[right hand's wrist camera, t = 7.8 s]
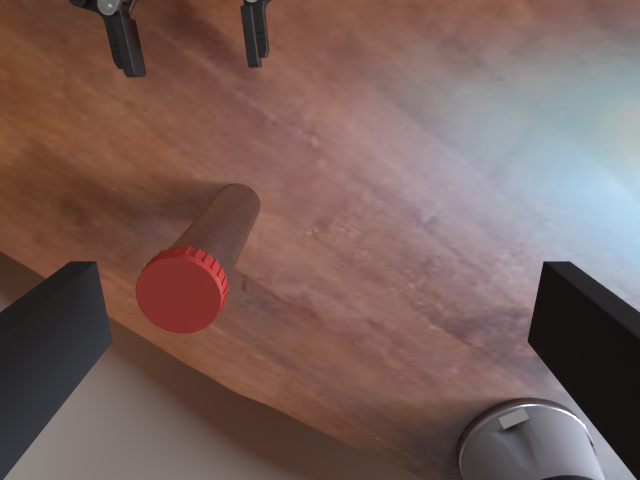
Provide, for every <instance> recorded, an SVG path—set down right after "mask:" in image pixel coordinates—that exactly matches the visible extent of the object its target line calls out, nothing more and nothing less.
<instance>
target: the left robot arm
mask: <svg viewBox="0 0 640 480" xmlns="http://www.w3.org/2000/svg"><path fill="white" fill-rule="evenodd" d="M69 1H70V2H71V3H72V4H73V5H75V6H77V7H81V8H84V9H87V10H91V11H94V12H97V13H98V14H100V15H101V16H102V18H103V19H104V22H105V25H106V30H107V34H108V38H109V43H110V47H111V51H112V56H113V60H114V62H115V64H116V66H117V67H118V69H123V70H124V73H125V75H126V76H127V77H144V76H146V69H145V65H144V60H143V55H142V50H141V45H140V40H139V36H138V31H137V26H136V21H135V20H132V19H130V16H131V14H132V11H133V9H134V7H135V4H136V2H137V0H69ZM243 1H244V6H241V14H242V22H243V30H244V38H245V45H246V53H247V61H248V66H249V67H250V68H256V67H262V61H261V58H267V57H268V53H269V41H268V32H267V23H266V14H265V9H266V6H267V4H268V3H269V2H270V1H271V0H243Z"/></svg>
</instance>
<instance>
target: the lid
mask: <svg viewBox="0 0 640 480" xmlns="http://www.w3.org/2000/svg"><path fill="white" fill-rule="evenodd" d="M141 272H142V273H141V274H140V276H139V278H138V281H137V284H136V298H137V302H138V304H139V307H140V309H141V310H142V312H143V313H144V315H145V316H146V317H147V318H148V319H149V320H150V321H151V322H152V323H154V324H155V325H157V326H158V327H160V328H162V329H165V330H167V331H170V332H175V333H192V332H196V331H199V330H202V329H204V328H205V327H207V326H209V325H210V324H211V323H212V322H213V321H214V320H215V319H216V318H217V316H218V314H219V311H221V310H222V308H223V306H224V303H225V301H226V297H227V295H228V292H227V288H228V286H229V284H227V279H226V278H227V275H225V273H224V271H223V267H221V266H220V265H219V263H218V262H217V259H216V260H215V259H214V258H213V257H211V256H210V254H209V253H208V254H207V253H205V252H203V251H201V249H195V248H191V246H189V247H181V245H180V246H179V247H174V248H172V247H170V248H169V249H167V250H165V251H163V250H162V251H161V252H160V253H159V254H158V255H157V256H154V257H153V258H152V259H151V260H150V261H149V262H148V264H147V266H146V267H145V268H144V269H143V270H142V271H141Z"/></svg>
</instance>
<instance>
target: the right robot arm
mask: <svg viewBox="0 0 640 480" xmlns="http://www.w3.org/2000/svg"><path fill="white" fill-rule="evenodd" d="M527 342H528V343H529V344H530V345H531V347H532V348H533V349H534V350H535V352H536V353H537V354H538V355H539V357H540V358H541V359H542V360H543V362H544V363H545V364H546V366H547V367H548V368H549V369H550V371H551V372H552V373H553V374H554V376H555V377H556V378H557V379H558V381H559V382H560V383H561V384H562V386H563V387H564V388H565V390H566V391H567V392H568V393H569V395H570V396H571V397H572V398H573V400H574V401H575V402H576V403H577V405H578V406H579V407H580V408H581V410H582V411H583V412H584V414H585V415H586V416H587V417H588V419H589V420H590V421H591V422H592V424H593V425H594V426H595V427H596V429H597V430H598V431H599V432H600V434H601V435H602V436H603V437H604V439H605V440H606V441H607V443H608V444H609V445H610V446H611V448H612V449H613V450H614V451H615V453H616V454H617V455H618V456H619V458H620V459H621V460H622V461H623V463H624V464H625V465H626V467H627V468H628V469H629V470H630V472H631V473H632V474H633V475H634V477H635V478H636V479H637V480H640V312H638V311H637V310H636V309H634V308H633V307H632V306H630V305H629V304H627V303H626V302H625V301H623V300H622V299H621V298H619V297H618V296H616V295H615V294H614V293H612V292H611V291H610V290H608V289H607V288H605V287H604V286H603V285H601V284H600V283H599V282H597V281H596V280H594V279H593V278H592V277H590V276H589V275H588V274H586V273H585V272H583V271H582V270H581V269H579V268H578V267H577V266H575V265H574V264H572V263H571V262H543V267H542V272H541V277H540V282H539V287H538V292H537V297H536V302H535V307H534V312H533V317H532V322H531V327H530V332H529V336H528V341H527ZM111 343H112V336H111V332H110V327H109V322H108V317H107V312H106V307H105V302H104V297H103V292H102V287H101V282H100V277H99V272H98V267H97V262H69V263H68V264H66V265H65V266H63V267H62V268H61V269H59V270H58V271H57V272H55V273H54V274H52V275H51V276H50V277H48V278H47V279H46V280H44V281H43V282H41V283H40V284H39V285H37V286H36V287H35V288H33V289H32V290H31V291H29V292H28V293H26V294H25V295H24V296H22V297H21V298H19V299H18V300H17V301H15V302H14V303H13V304H11V305H10V306H8V307H7V308H6V309H4V310H3V311H2V312H0V480H3V479H4V478H5V477H6V475H7V474H8V473H9V472H10V470H11V469H12V468H13V466H14V465H15V464H16V463H17V461H18V460H19V459H20V458H21V456H22V455H23V454H24V453H25V451H26V450H27V449H28V448H29V446H30V445H31V444H32V443H33V441H34V440H35V439H36V437H37V436H38V435H39V434H40V432H41V431H42V430H43V429H44V427H45V426H46V425H47V424H48V422H49V421H50V420H51V419H52V417H53V416H54V415H55V413H56V412H57V411H58V410H59V408H60V407H61V406H62V405H63V403H64V402H65V401H66V400H67V398H68V397H69V396H70V395H71V393H72V392H73V391H74V389H75V388H76V387H77V386H78V384H79V383H80V382H81V381H82V379H83V378H84V377H85V376H86V374H87V373H88V372H89V371H90V369H91V368H92V367H93V366H94V364H95V363H96V362H97V360H98V359H99V358H100V357H101V355H102V354H103V353H104V352H105V350H106V349H107V348H108V347H109V345H110V344H111ZM457 462H458V466H459V469H460V471H461V474H462V477H463V479H464V480H605V478H604V476H603V473H602V470H601V468H600V465H599V463H598V461H597V458H596V451H595V447H594V443H593V441H592V438H591V436H590V435H589V433H588V431H587V429H586V428H585V426H584V425H583V424H582V422H581V421H580V420H579V418H578V417H577V416H576V415H575V414H574V413H573V412H572V411H571V410H569V409H568V408H566V407H565V406H563V405H561V404H558V403H556V402H552V401H549V400H543V399H520V400H514V401H510V402H506V403H503V404H500V405H498V406H495V407H493V408H491V409H489V410H488V411H486V412H484V413H483V414H481V415H480V416H479V417H477V418H476V419H475V420H474V421H473V422H472V423H471V424H470V425H469V426H468V427H467V429H466V430H465V431H464V433H463V435H462V437H461V439H460V441H459V444H458V448H457Z"/></svg>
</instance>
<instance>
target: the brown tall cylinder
mask: <svg viewBox="0 0 640 480" xmlns="http://www.w3.org/2000/svg"><path fill="white" fill-rule="evenodd" d="M259 211H260V201H259V198H258V196H257V194H256V193H255V192H254V191H253V190H252V189H251V188H249V187H248V186H246V185H243V184H231V185H228V186H226V187H225V188H224V189H222V190H221V192H220V193H219V194H218V195H217V196H216V197H215V198H214V199H213V201H212V202H211V203H210V204H209V205H208V206H207V207H206V208H205V209H204V211H203V212H202V213H201V214H200V215H199V216H198V217H197V218H196V220H195V221H194V222H193V223H192V224H191V225H190V226H189V227H188V229H187V230H186V231H185V232H184V233H183V234H182V235H181V236H180V238H179V239H178V240H177V241H176V242H175V243H174V244H173V245H172V248H174V247H179V246H180V245H181V247H189V246H191V248H195V249H201V251H203V252H205V253H207V254H208V253H209V254H210V256H211V257H213V258H214V259H215V260H216V259H217V262H218V263H219V265H220V266H221V267H223V271H224V273H225V275H227V278H226V279H227V282H228V280H229V278H230V275H231V273H232V271H233V269H234V267H235V264H236V262H237V260H238V258H239V256H240V254H241V251H242V249H243V247H244V245H245V243H246V240H247V238H248V236H249V234H250V232H251V230H252V227H253V225H254V223H255V221H256V219H257V216H258V214H259Z"/></svg>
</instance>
